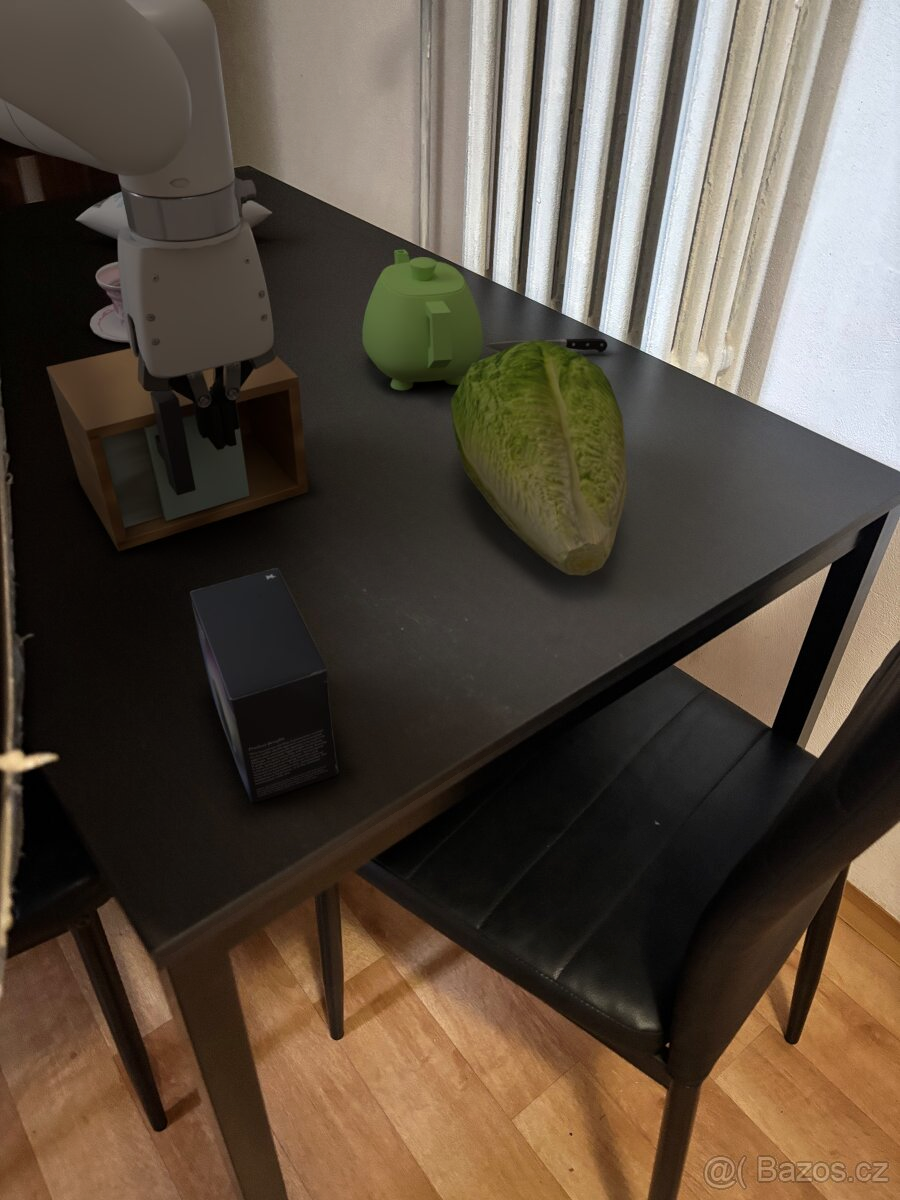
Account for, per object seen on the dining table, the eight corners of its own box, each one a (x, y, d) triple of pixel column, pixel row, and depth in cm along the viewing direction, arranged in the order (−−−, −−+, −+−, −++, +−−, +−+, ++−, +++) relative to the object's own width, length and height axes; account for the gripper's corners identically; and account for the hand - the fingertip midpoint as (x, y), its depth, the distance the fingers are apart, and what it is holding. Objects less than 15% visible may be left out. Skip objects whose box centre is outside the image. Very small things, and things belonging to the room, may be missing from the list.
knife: (483, 358, 107) (484, 342, 106) (483, 355, 108) (484, 339, 106) (605, 356, 109) (608, 340, 107) (604, 353, 109) (606, 337, 108)
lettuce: (469, 552, 69) (653, 464, 65) (417, 363, 84) (563, 284, 81) (538, 642, 79) (699, 571, 76) (481, 460, 95) (612, 393, 91)
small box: (207, 697, 66) (183, 587, 59) (293, 671, 68) (280, 563, 61) (247, 808, 59) (225, 698, 52) (342, 775, 61) (333, 666, 54)
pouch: (67, 187, 125) (161, 215, 116) (176, 161, 137) (270, 184, 128) (80, 246, 130) (172, 277, 121) (185, 216, 142) (276, 242, 133)
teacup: (75, 317, 112) (62, 268, 108) (165, 295, 118) (156, 247, 114) (115, 354, 105) (103, 302, 101) (209, 328, 111) (201, 278, 107)
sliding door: (180, 543, 77) (151, 405, 69) (163, 517, 80) (133, 381, 71) (265, 516, 80) (248, 381, 72) (247, 492, 83) (227, 359, 74)
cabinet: (118, 551, 78) (85, 430, 70) (79, 483, 86) (46, 366, 78) (308, 492, 86) (298, 376, 78) (257, 434, 93) (243, 323, 85)
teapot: (349, 336, 111) (344, 231, 102) (455, 326, 113) (459, 223, 105) (382, 418, 96) (379, 303, 88) (502, 405, 99) (511, 293, 91)
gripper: (262, 177, 68) (285, 398, 80) (56, 209, 61) (115, 443, 74) (306, 208, 63) (323, 437, 75) (88, 245, 57) (145, 488, 69)
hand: (220, 439), depth 74 cm, fingers closed
